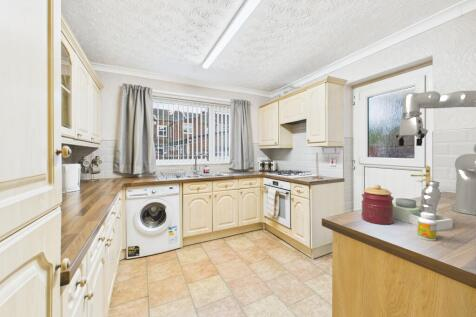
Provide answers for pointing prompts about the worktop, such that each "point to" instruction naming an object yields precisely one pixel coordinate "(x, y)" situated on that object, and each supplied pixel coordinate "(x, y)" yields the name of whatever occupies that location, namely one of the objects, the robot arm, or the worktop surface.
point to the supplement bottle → (427, 226)
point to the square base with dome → (409, 211)
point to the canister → (377, 205)
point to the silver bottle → (430, 198)
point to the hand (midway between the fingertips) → (409, 145)
